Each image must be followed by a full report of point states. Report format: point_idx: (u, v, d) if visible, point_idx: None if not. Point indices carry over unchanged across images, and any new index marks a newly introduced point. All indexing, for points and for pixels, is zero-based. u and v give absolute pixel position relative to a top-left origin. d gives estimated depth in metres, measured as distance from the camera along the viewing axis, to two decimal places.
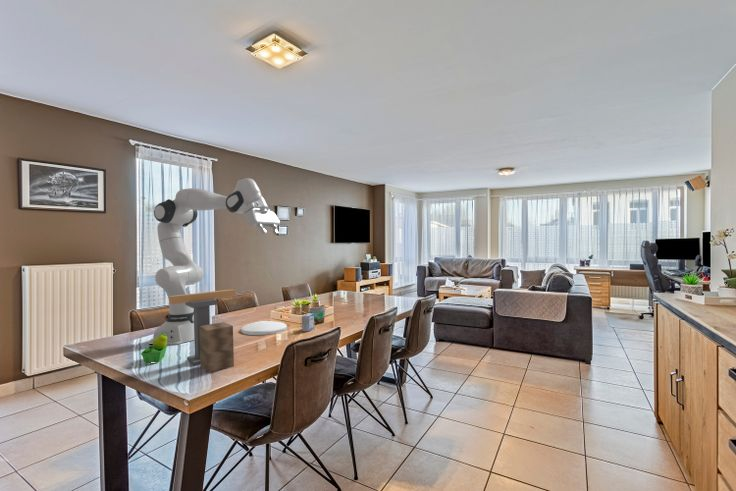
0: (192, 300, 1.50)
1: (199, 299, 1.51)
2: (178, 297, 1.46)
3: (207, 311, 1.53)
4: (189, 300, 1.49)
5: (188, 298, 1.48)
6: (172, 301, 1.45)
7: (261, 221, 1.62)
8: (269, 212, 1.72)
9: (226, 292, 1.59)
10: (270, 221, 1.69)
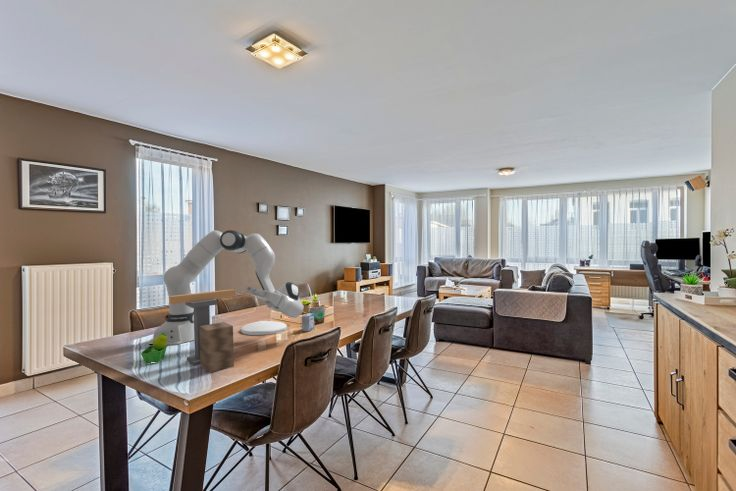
0: (192, 300, 1.50)
1: (199, 299, 1.51)
2: (178, 297, 1.46)
3: (207, 311, 1.53)
4: (189, 300, 1.49)
5: (188, 298, 1.48)
6: (172, 301, 1.45)
7: (263, 298, 1.66)
8: None
9: (226, 292, 1.59)
10: (258, 296, 1.72)
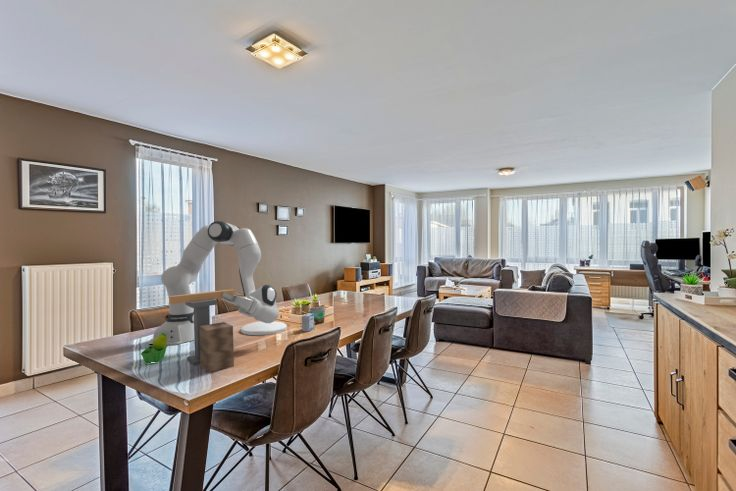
0: (192, 300, 1.50)
1: (199, 299, 1.51)
2: (178, 297, 1.46)
3: (207, 311, 1.53)
4: (189, 300, 1.49)
5: (188, 298, 1.48)
6: (172, 301, 1.45)
7: (233, 303, 1.57)
8: None
9: (226, 292, 1.59)
10: (228, 301, 1.62)
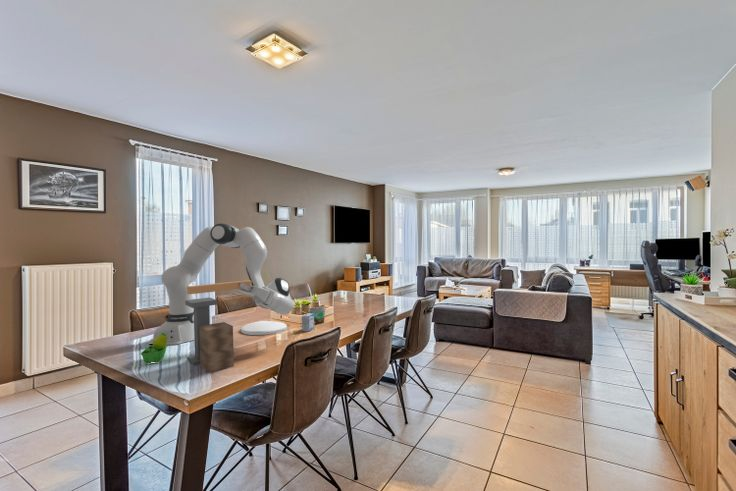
0: (210, 290, 1.49)
1: (217, 289, 1.51)
2: (196, 287, 1.45)
3: (207, 311, 1.53)
4: (207, 290, 1.48)
5: (206, 288, 1.48)
6: (190, 291, 1.44)
7: (251, 293, 1.56)
8: (252, 296, 1.67)
9: (243, 283, 1.58)
10: (245, 292, 1.62)
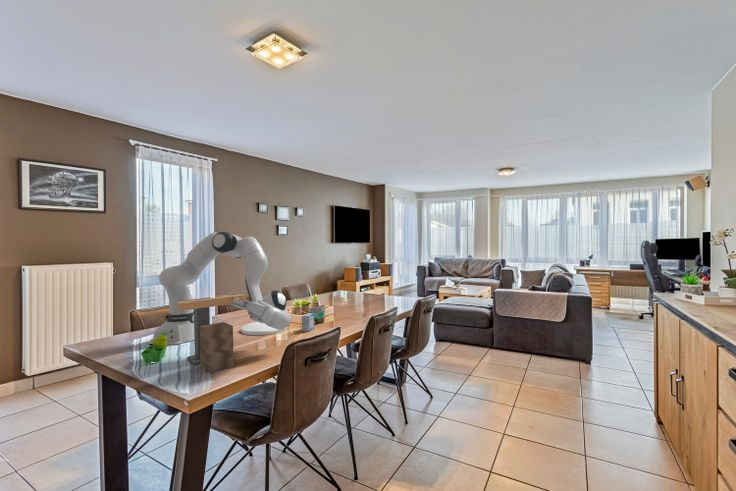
0: (201, 306, 1.41)
1: (209, 305, 1.42)
2: (187, 303, 1.37)
3: (207, 311, 1.53)
4: (198, 306, 1.40)
5: (197, 304, 1.39)
6: (180, 308, 1.36)
7: (245, 309, 1.48)
8: (246, 310, 1.59)
9: (237, 297, 1.50)
10: (239, 307, 1.53)
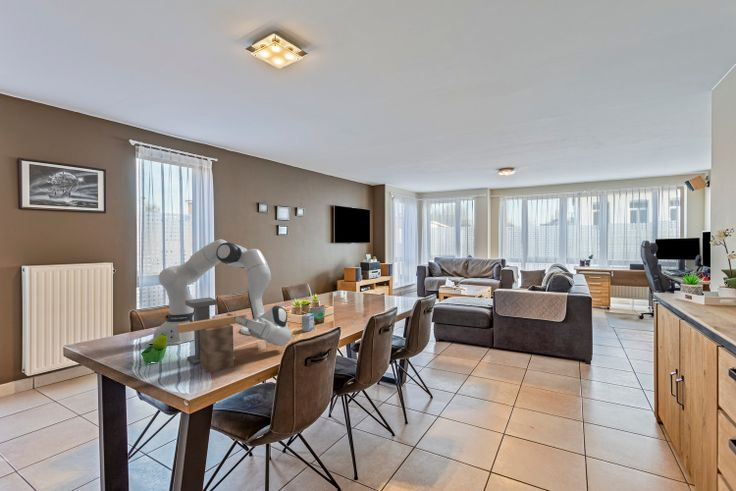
0: (202, 328, 1.41)
1: (209, 326, 1.43)
2: (187, 325, 1.37)
3: (207, 311, 1.53)
4: (199, 327, 1.40)
5: (197, 326, 1.40)
6: (181, 330, 1.36)
7: None
8: None
9: None
10: (239, 324, 1.54)
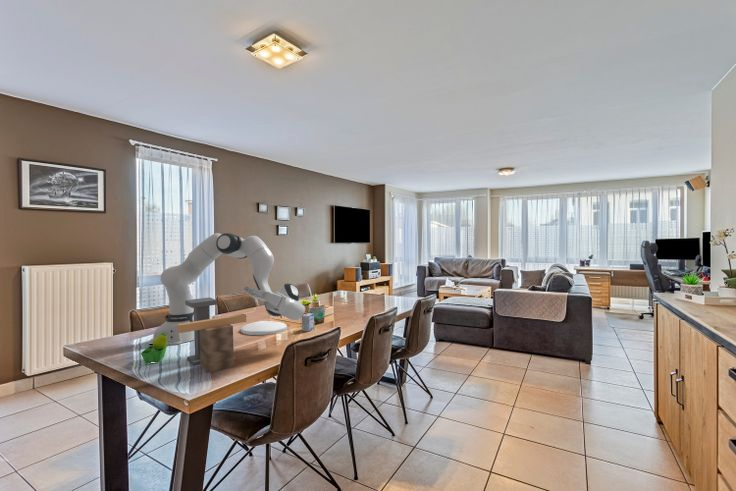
0: (202, 328, 1.41)
1: (209, 326, 1.43)
2: (187, 325, 1.37)
3: (207, 311, 1.53)
4: (199, 327, 1.40)
5: (197, 326, 1.40)
6: (181, 330, 1.36)
7: (262, 299, 1.53)
8: (263, 301, 1.64)
9: (237, 317, 1.50)
10: (256, 297, 1.59)
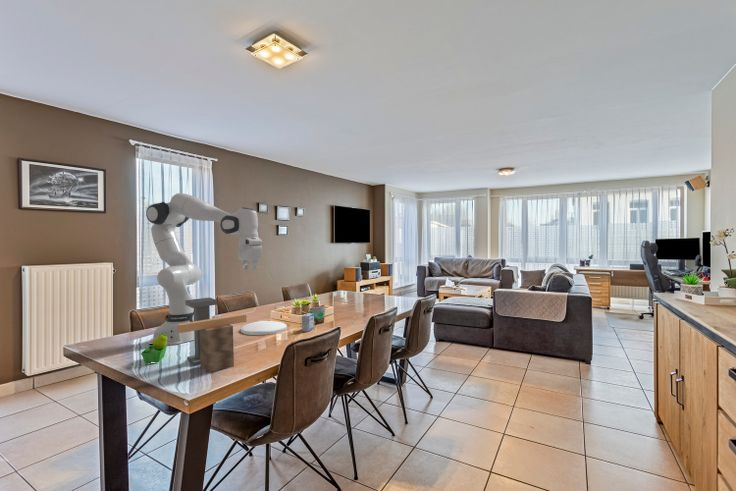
0: (202, 328, 1.41)
1: (209, 326, 1.43)
2: (187, 325, 1.37)
3: (207, 311, 1.53)
4: (199, 327, 1.40)
5: (197, 326, 1.40)
6: (181, 330, 1.36)
7: None
8: None
9: (237, 317, 1.50)
10: None
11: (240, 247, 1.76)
